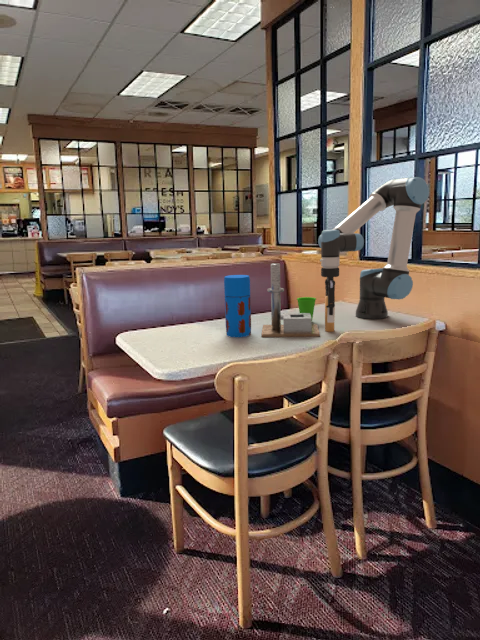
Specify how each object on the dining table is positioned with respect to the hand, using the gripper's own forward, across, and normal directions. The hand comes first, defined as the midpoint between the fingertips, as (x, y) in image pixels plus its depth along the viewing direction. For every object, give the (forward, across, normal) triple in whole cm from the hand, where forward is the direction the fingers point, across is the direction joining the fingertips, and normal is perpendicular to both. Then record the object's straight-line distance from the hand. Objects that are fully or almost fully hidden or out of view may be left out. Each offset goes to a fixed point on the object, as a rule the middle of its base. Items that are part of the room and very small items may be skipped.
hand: (329, 320), depth 209 cm
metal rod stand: (+5, +1, -17) cm, 18 cm away
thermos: (+5, +5, -39) cm, 40 cm away
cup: (+5, -19, -9) cm, 22 cm away
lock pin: (+5, 0, 0) cm, 5 cm away
